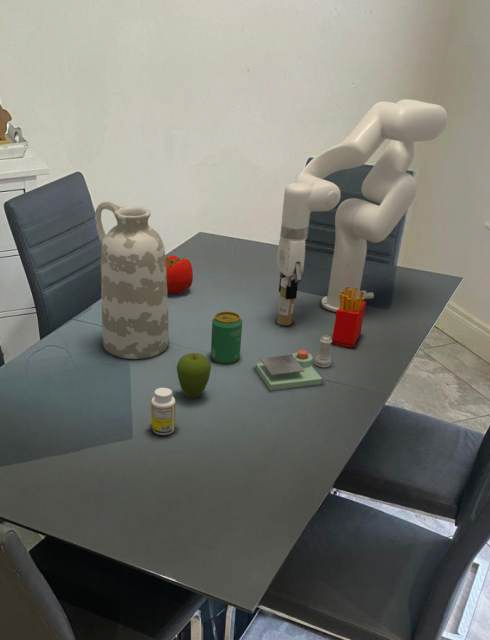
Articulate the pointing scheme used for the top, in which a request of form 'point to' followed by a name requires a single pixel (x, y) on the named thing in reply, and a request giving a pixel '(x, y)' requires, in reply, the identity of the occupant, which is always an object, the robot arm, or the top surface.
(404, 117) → the robot arm
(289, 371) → the scale pan
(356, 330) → the french fries container
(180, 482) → the top surface
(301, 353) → the tare button
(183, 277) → the tomato
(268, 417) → the top surface
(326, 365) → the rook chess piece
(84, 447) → the top surface
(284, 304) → the sprinkles bottle
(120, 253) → the vase
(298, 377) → the scale
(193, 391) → the apple
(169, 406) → the supplement bottle
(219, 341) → the beverage can
